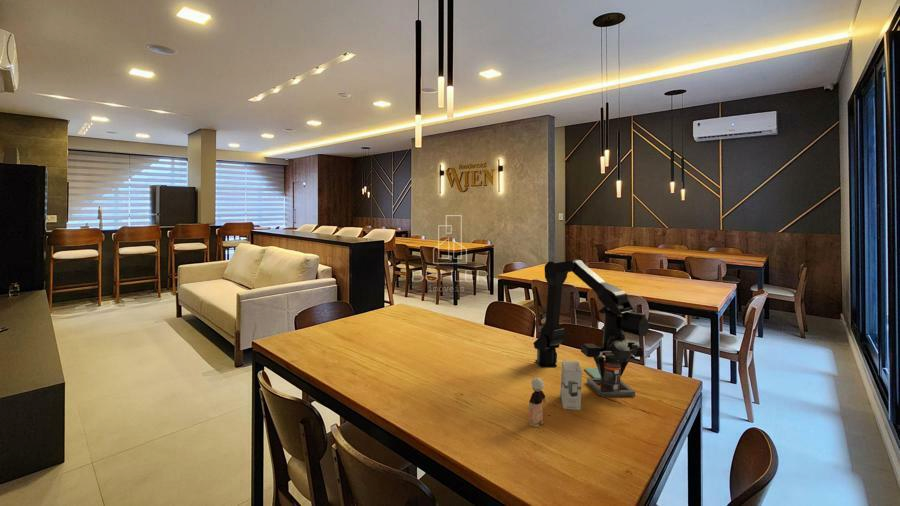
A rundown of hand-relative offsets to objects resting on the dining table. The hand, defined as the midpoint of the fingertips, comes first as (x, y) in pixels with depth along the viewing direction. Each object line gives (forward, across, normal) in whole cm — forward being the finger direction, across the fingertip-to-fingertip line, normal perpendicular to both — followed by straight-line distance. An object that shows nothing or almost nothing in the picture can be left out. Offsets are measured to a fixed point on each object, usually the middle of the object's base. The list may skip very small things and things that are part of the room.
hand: (610, 375), depth 134 cm
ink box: (+5, -17, -10) cm, 20 cm away
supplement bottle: (+5, 0, 0) cm, 5 cm away
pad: (+4, +3, +12) cm, 14 cm away
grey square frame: (+4, 0, 0) cm, 4 cm away
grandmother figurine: (+5, -31, -22) cm, 38 cm away
